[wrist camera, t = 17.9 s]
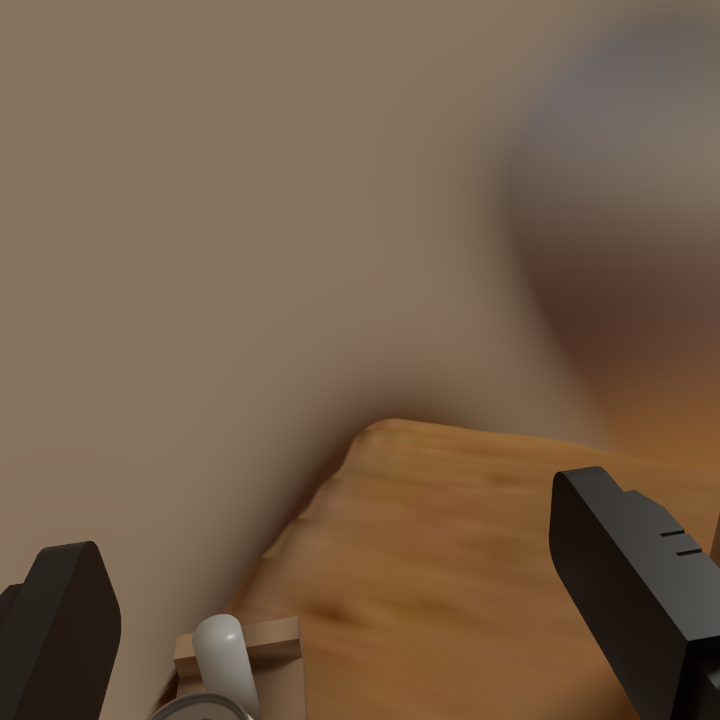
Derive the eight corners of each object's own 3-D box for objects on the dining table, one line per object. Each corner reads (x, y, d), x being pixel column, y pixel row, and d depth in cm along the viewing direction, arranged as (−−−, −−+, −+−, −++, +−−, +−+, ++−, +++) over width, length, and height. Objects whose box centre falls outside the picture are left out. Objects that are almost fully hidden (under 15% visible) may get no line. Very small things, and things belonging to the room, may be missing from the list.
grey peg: (261, 692, 42) (242, 610, 38) (260, 734, 39) (239, 651, 35) (218, 699, 41) (195, 618, 38) (214, 742, 39) (188, 659, 35)
